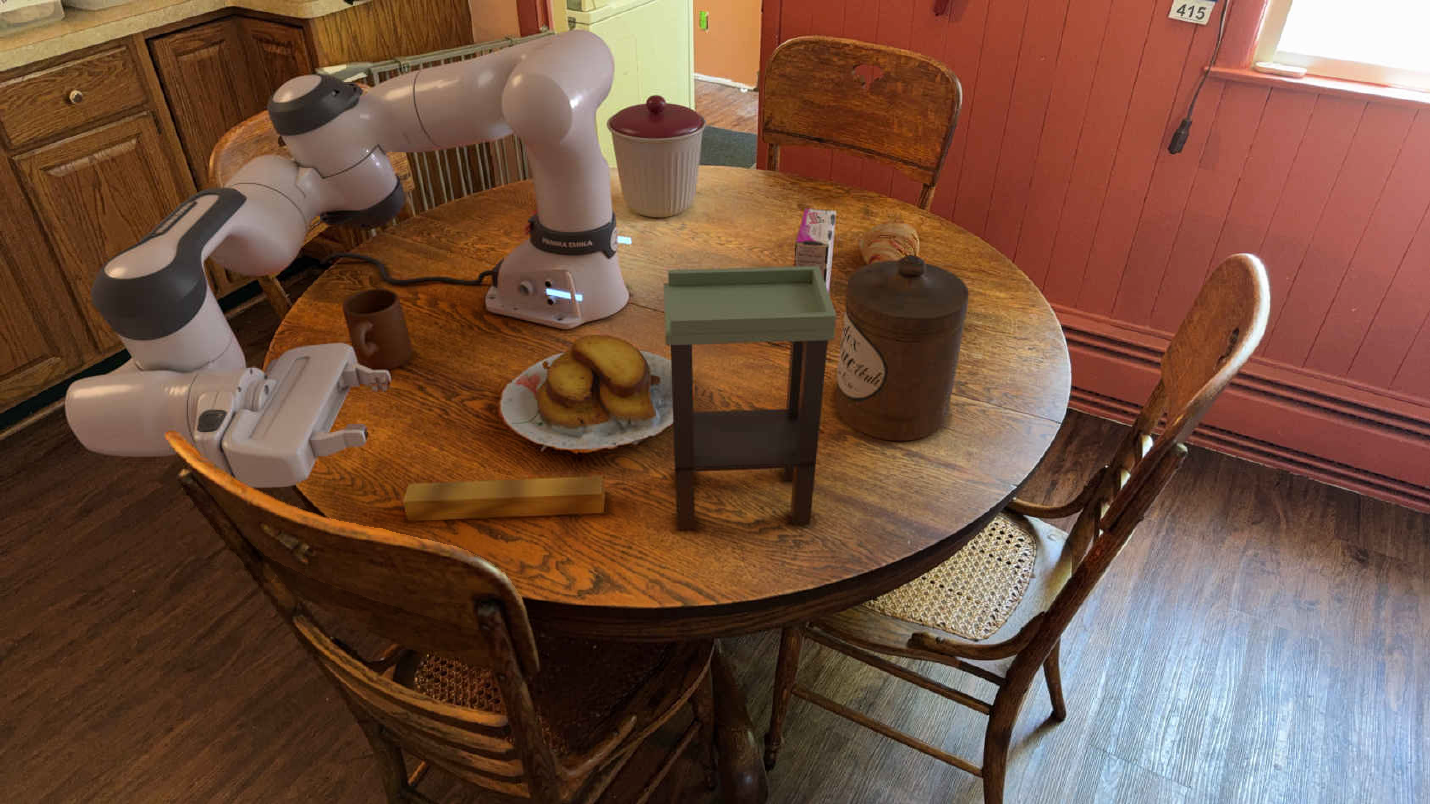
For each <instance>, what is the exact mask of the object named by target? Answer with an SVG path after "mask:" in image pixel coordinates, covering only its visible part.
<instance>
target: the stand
mask: <svg viewBox="0 0 1430 804" xmlns="http://www.w3.org/2000/svg"><path fill="white" fill-rule="evenodd" d="M667 276H668V278H667V280H668V282H665V283H663V303H664V304H663V305H664V306H663V309H664V337H665V339H664V340H665V346H670V360H671V371H672V401H673V423H672V427H673V430H672V431H673V455H674V456H673V457H674V458H673V459H674V461H673V462H674V485H675V511H676V512H675V513H676V530H677V531H690V530H695V529H696V516H695V515H696V513H695V512H696V508H695V506H696V505H695V503H696V501H695V473H696V472H718V471H719V472H720V471H749V470H770V469H771V470H773V469H781V472H782V477H783V480H784V482H792V484H791V485H792V486H791V487H792V488H791V500H790V512H789V514H790V519H791V524H792V526H803V525H804V526H807V525H810V524H811V519H812V509H813V498H814V488H815V478H816V467H817V458H818V457H817V456H818V446H819V435H820V426H821V417H822V416H821V414H822V406H823V395H824V385H825V376H826V364H827V354H828V343H829V341H834V340H835V335H836V334H835V333H836V325H837V314H836V311H835V308H834V305H833V302H832V299H831V296H830V292H829V293H828V290H827V287H826V284H825V281H824V278H823V275H822V273H821V270H820V267H819V266H796V267H794V266H765V267H764V266H763V267H728V268H727V267H726V268H691V269H690V268H689V269H668V270H667ZM782 342H783V343H785V342H790V345H789V361H788V362H789V363H788V374H787V378H788V379H787V392H786V407H785V408H773V409H770V408H769V409H747V410H745V409H744V410H743V409H742V410H720V411H718V410H717V411H714V410H713V411H694V402H693V384H694V381H693V377H694V376H693V375H694V374H693V370H694V369H693V346H694V345H718V344H719V345H720V344H721V345H724V344H753V343H754V344H755V343H756V344H757V343H782Z"/></svg>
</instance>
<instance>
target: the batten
mask: <svg viewBox="0 0 1430 804" xmlns="http://www.w3.org/2000/svg"><path fill="white" fill-rule="evenodd" d="M604 485H605V484H604V477H603V475H597V476H595V475H594V476H569V477H547V478H520V479H519V478H518V479H496V480H494V479H493V480H492V479H491V480H469V481H446V482H445V481H444V482H441V481H440V482H420V483H419V482H418V483H408V484H407V487H406V490H405V493H404V496H403V499H402V505H403V509H404V512H405V515H406V518H407V521H408V522H417V521H419V522H420V521H441V520H442V521H443V520H444V521H445V520H467V519H468V520H469V519H489V518H516V517H536V516H542V517H543V516H561V515H563V516H565V515H566V516H567V515H585V514H587V515H591V514H603V513H604V511H605V498H606V497H605V496H606V495H605V486H604Z"/></svg>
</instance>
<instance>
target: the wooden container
mask: <svg viewBox="0 0 1430 804" xmlns="http://www.w3.org/2000/svg"><path fill="white" fill-rule="evenodd" d="M969 293H970V292H969V288H968V286H967V284H966V283H965V282H964V281H963V280H962V279H961V278H960V277H958V276H957V275H956V274H954V272H950V271H948V270H947V269H944V268H942V267H939V266H937V265H933V264H929V263H926V262H925V261H924V260H923V259H922V258H921V257H919V256H915V255H908V256H906V257H903V258H901V259H900V260H888V261H880V262H875V263H871V264H868V265H867V264H865V265H863V266H861V267H859V268H857V269H856V270H854V271H853V272H852V273H851V274H850V276H849V278H848V279H847V284H846V292H845V303H844V305H845V307H844V309H845V310H844V315H843V323H842V324H843V325H842V333H841V340H840V347H839V355H838V364H837V374H836V387H835V397H834V398H835V399H834V404H835V408H836V412H837V413H838V415H839V417H840V418H841V419H842V420H843V421H844V422H845V423H846V424H847V425H848V426H850V427H851V428H853V429H855V430H856V431H858V432H860V433H862V434H864V435H867V436H870V437H873V438H876V439H882V440H887V441H899V442H900V441H913V440H919V439H922V438H925V437H928V436H931V435H932V434H933V433H936V432H937V431H938V430H940V428H941V427H942V426H943V425H944V424H945V422H946V420H947V417H948V413H949V407H950V402H951V397H952V394H953V388H954V384H955V379H956V373H957V367H958V363H959V362H958V361H959V355H960V349H961V344H962V338H963V332H964V326H965V320H966V317H967V312H968V307H969V297H970V294H969Z"/></svg>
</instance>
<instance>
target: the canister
mask: <svg viewBox="0 0 1430 804" xmlns="http://www.w3.org/2000/svg"><path fill="white" fill-rule="evenodd" d="M606 127H607V130H608V131H609V132H610V133H611V138H612V145H613V150H614V155H615V157H614V158H615V162H616V167H617V172H618V178H619V183H620V188H621V192H622V193H621V194H622V196H623V200H624V202H625V205H626V206H627V207H628V208H629V209H630V210H631V211H633V212H634V213H636V214H638V215H641V216H644V217H650V218H667V217H673V216H676V215H677V216H678V215H679V214H682V213H685V212H686V211H688V209H690V207H691V206H692V205H693V203H694V201H695V198H696V192H697V186H698V178H699V171H700V170H699V169H700V159H701V151H702V141H703V131H704V130H705V129H706V127H707V120H706V118H705V116H703V115H702V114H701V113H699V112H697V111H696V110H695V109H692V108H691V107H688V106H684V105H681V104H676V103H669V102H668V103H667V101H666V100H665V97H663V96H662V95H659V94H654V95H650V96H649V97H648V98H647V99H646V101H645V103H640V104H634V105H631V106H627V107H625V108H623V109H620V110H619V111H618V112H616V113H614V114H613V115H611V116H610V117H609V118H608V119H607V121H606Z"/></svg>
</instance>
